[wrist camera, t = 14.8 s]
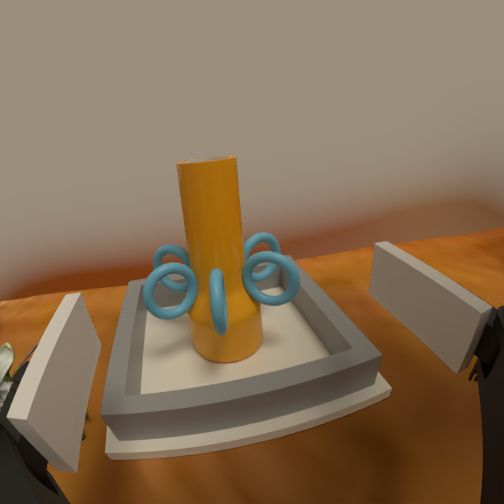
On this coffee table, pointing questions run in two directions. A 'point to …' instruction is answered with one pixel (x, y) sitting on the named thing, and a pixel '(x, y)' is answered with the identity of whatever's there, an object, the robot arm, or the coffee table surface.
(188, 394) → the holder tray
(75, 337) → the robot arm
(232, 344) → the orange tube
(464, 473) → the coffee table surface
